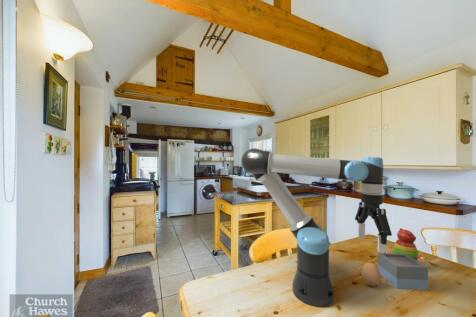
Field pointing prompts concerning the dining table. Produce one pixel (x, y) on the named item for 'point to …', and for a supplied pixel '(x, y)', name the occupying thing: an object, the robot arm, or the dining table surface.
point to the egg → (370, 274)
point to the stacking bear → (406, 244)
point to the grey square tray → (403, 271)
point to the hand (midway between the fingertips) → (370, 244)
